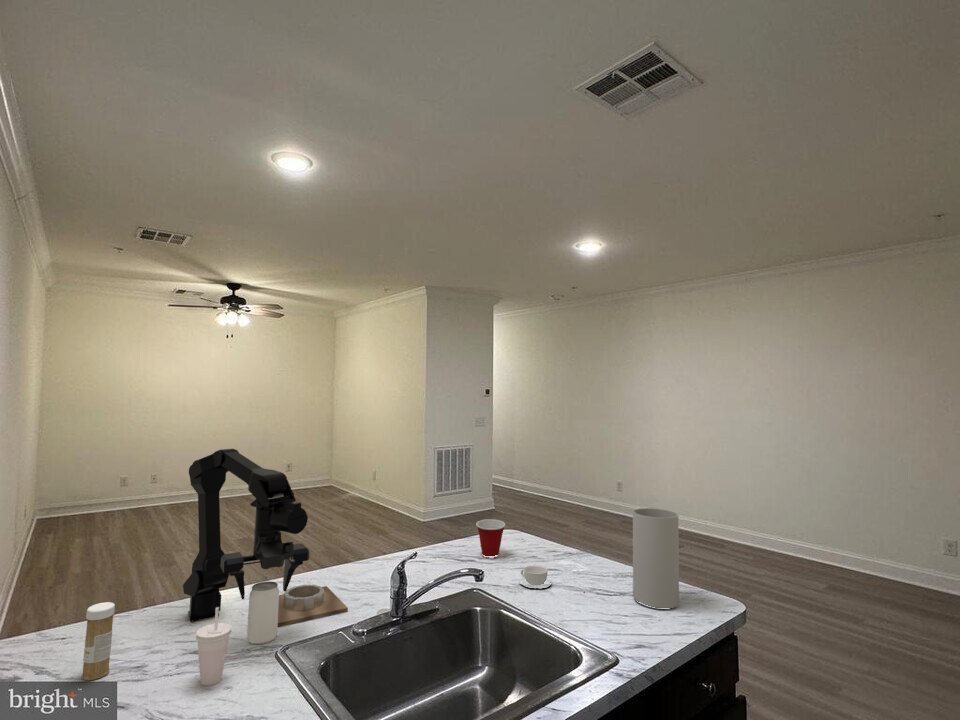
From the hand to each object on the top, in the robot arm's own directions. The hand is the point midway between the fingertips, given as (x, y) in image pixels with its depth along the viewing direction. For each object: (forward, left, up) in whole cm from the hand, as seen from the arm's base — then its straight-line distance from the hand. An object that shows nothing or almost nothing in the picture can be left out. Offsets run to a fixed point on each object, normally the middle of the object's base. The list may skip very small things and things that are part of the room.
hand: (264, 594), depth 118 cm
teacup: (+78, -7, -10) cm, 79 cm away
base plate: (+13, +13, -10) cm, 21 cm away
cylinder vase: (+99, -35, -10) cm, 106 cm away
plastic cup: (+82, +23, -10) cm, 86 cm away
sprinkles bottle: (-31, +1, -10) cm, 33 cm away
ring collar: (+13, +13, -10) cm, 21 cm away
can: (0, 0, -10) cm, 10 cm away
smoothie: (-12, -13, -10) cm, 20 cm away
